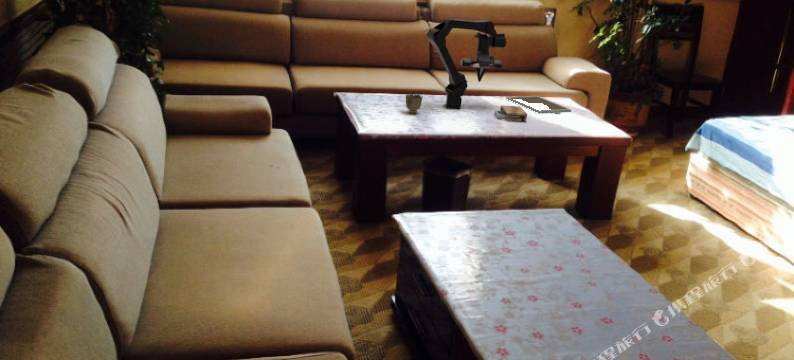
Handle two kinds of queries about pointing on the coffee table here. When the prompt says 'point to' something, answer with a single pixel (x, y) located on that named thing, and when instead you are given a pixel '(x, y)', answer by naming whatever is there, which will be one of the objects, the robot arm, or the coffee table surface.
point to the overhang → (514, 112)
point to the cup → (413, 102)
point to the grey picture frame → (536, 99)
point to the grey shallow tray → (504, 115)
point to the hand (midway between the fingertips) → (479, 81)
